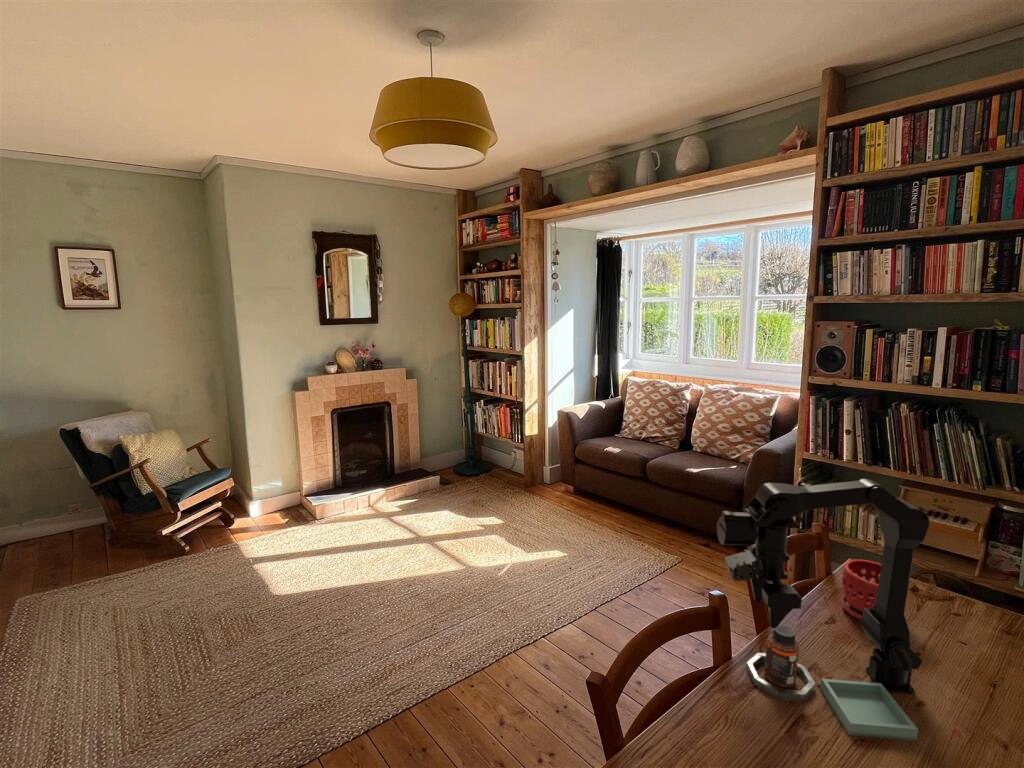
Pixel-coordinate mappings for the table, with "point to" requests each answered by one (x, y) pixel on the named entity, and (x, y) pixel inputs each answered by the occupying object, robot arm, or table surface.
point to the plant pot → (859, 586)
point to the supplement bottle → (782, 657)
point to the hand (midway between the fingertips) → (764, 614)
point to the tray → (868, 710)
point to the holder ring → (776, 691)
